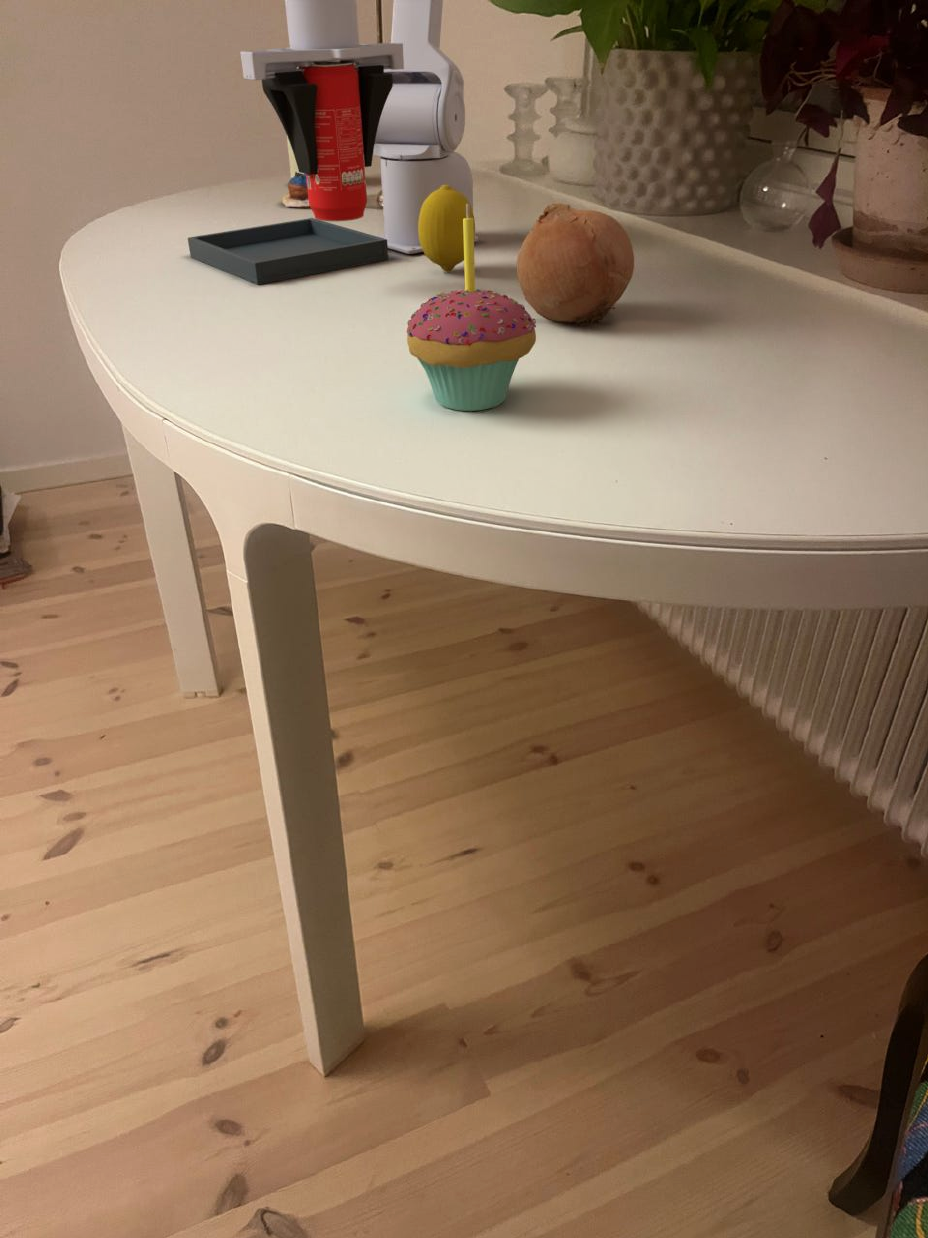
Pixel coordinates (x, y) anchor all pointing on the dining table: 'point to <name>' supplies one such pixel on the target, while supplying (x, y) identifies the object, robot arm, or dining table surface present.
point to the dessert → (297, 191)
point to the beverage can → (337, 143)
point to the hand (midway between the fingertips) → (335, 169)
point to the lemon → (444, 227)
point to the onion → (574, 264)
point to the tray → (287, 250)
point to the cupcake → (470, 340)
